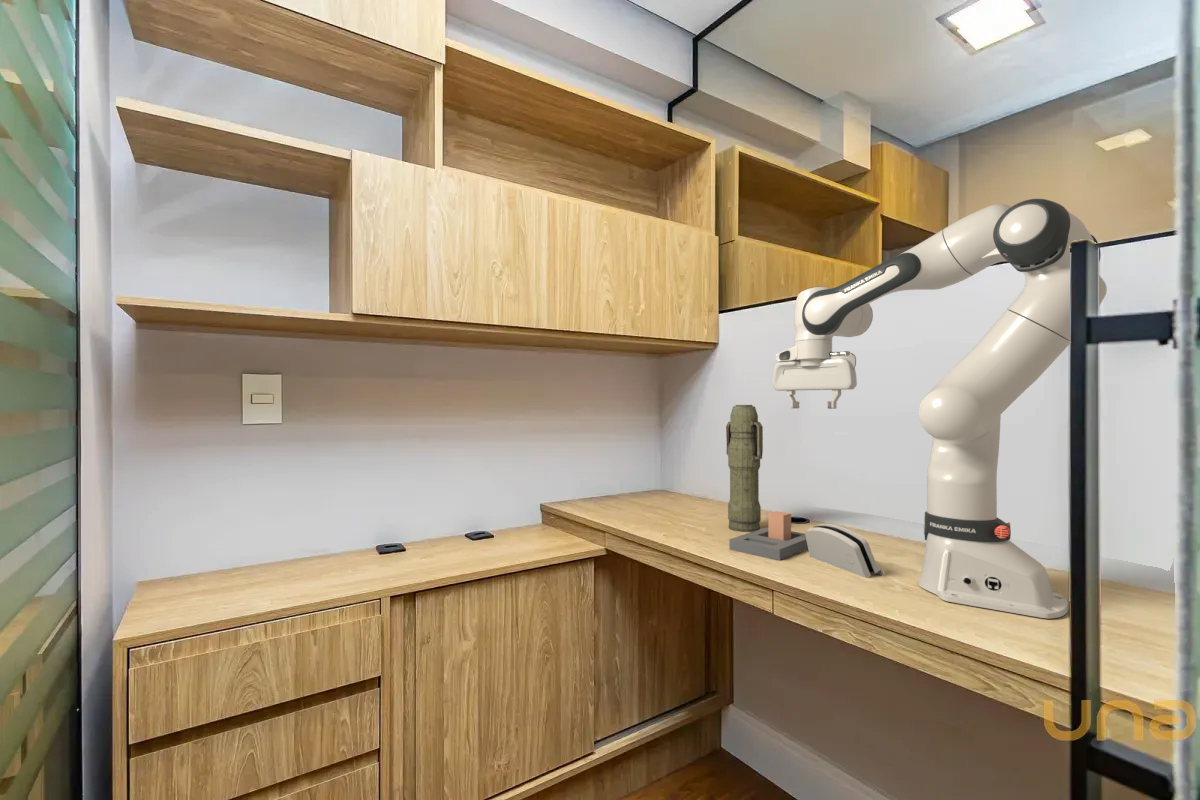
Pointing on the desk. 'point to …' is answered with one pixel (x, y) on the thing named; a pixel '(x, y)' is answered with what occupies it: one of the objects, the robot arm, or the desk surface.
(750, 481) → the thermos
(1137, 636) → the desk surface
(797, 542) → the socket block
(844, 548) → the grey arched slotted block
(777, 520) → the square peg
